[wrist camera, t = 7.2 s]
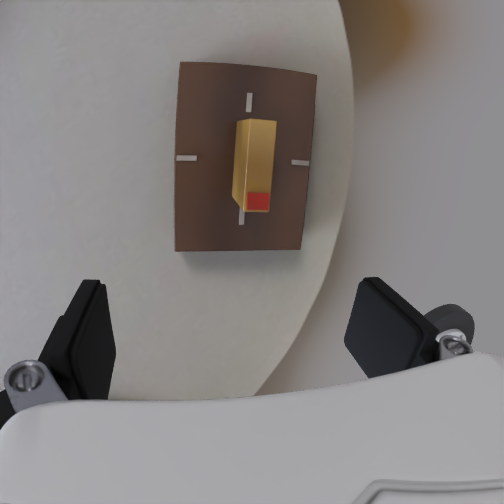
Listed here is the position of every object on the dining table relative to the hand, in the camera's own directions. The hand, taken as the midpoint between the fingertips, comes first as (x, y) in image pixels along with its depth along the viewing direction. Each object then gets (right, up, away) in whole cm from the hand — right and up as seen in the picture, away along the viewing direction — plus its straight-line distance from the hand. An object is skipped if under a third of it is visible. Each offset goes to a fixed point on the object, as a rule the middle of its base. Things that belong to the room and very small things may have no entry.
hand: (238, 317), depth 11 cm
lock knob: (0, +9, +11) cm, 14 cm away
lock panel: (-1, +10, +14) cm, 17 cm away
